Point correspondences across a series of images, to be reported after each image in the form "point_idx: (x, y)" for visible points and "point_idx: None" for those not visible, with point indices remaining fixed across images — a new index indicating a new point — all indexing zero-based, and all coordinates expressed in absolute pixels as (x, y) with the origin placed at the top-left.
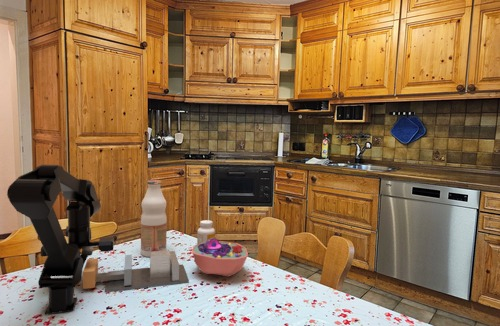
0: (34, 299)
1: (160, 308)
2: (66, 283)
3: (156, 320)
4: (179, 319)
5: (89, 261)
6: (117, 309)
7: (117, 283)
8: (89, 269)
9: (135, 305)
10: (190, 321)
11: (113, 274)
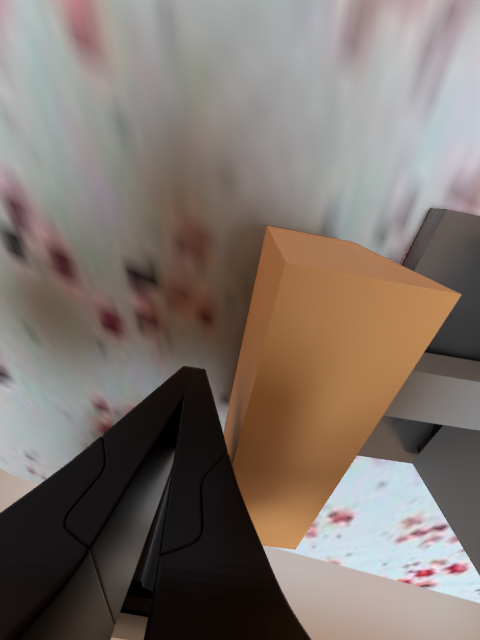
0: (19, 383)
1: (426, 554)
2: (134, 637)
3: (384, 575)
4: (430, 585)
5: (297, 363)
6: (320, 525)
7: (399, 421)
8: (264, 524)
9: (376, 527)
10: (444, 593)
11: (424, 416)
